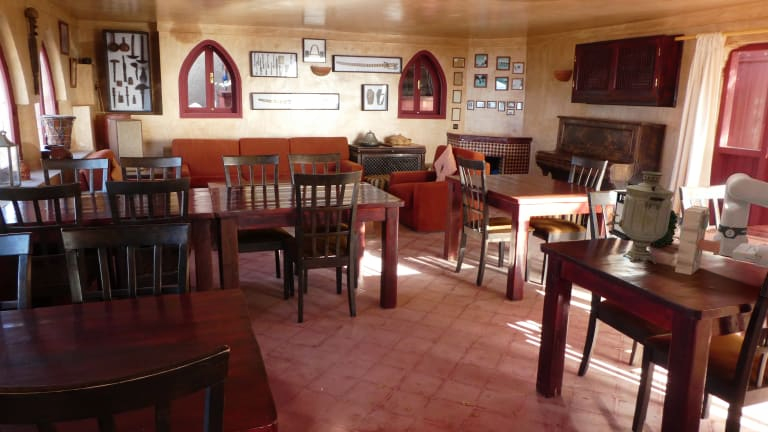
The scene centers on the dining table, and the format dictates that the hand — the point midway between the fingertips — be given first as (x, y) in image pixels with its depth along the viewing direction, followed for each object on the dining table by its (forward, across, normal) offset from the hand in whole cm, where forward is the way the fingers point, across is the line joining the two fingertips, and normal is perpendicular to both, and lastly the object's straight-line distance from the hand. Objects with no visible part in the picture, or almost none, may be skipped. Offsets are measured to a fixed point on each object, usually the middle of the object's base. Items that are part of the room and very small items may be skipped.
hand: (723, 248), depth 233 cm
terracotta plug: (+6, 0, -3) cm, 7 cm away
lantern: (+51, +48, -12) cm, 71 cm away
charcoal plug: (+12, 0, +7) cm, 14 cm away
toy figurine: (+33, +39, -12) cm, 53 cm away
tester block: (+12, 0, -12) cm, 17 cm away
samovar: (+35, 0, -12) cm, 37 cm away
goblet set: (+40, +68, -12) cm, 80 cm away
